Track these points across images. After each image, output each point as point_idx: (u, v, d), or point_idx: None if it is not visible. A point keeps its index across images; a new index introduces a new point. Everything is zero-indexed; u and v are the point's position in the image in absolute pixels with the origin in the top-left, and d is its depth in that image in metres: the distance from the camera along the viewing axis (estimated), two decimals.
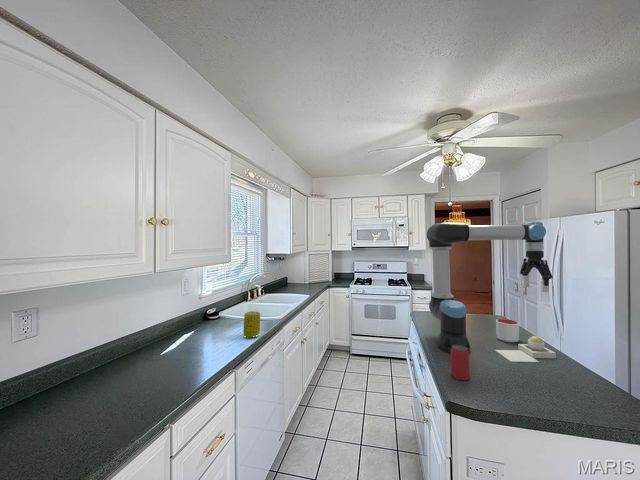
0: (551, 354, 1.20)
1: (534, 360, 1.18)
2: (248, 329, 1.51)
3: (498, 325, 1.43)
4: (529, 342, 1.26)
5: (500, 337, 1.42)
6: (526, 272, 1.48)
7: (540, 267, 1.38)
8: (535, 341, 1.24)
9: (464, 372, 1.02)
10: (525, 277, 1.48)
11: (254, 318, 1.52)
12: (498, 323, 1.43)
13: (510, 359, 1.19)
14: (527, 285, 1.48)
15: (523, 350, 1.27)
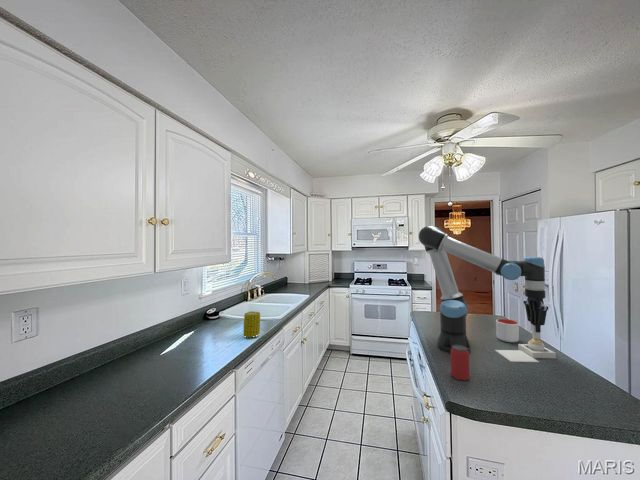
0: (551, 354, 1.20)
1: (534, 360, 1.18)
2: (248, 329, 1.51)
3: (498, 325, 1.43)
4: (529, 345, 1.26)
5: (500, 337, 1.42)
6: (533, 318, 1.26)
7: (538, 311, 1.24)
8: (535, 343, 1.24)
9: (464, 372, 1.02)
10: None
11: (254, 318, 1.52)
12: (498, 323, 1.43)
13: (510, 359, 1.19)
14: None
15: (523, 350, 1.27)
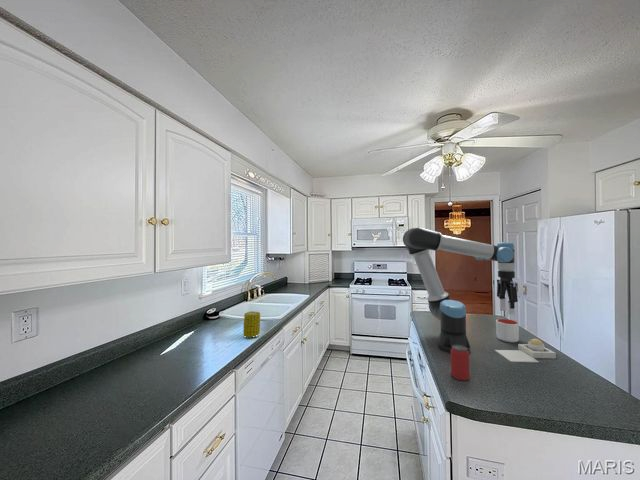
0: (551, 354, 1.20)
1: (534, 360, 1.18)
2: (248, 329, 1.51)
3: (498, 325, 1.43)
4: (529, 345, 1.26)
5: (500, 337, 1.42)
6: (502, 294, 1.46)
7: (509, 289, 1.40)
8: (535, 344, 1.24)
9: (464, 372, 1.02)
10: (501, 300, 1.46)
11: (254, 318, 1.52)
12: (498, 323, 1.43)
13: (510, 359, 1.19)
14: (504, 309, 1.46)
15: (523, 350, 1.27)
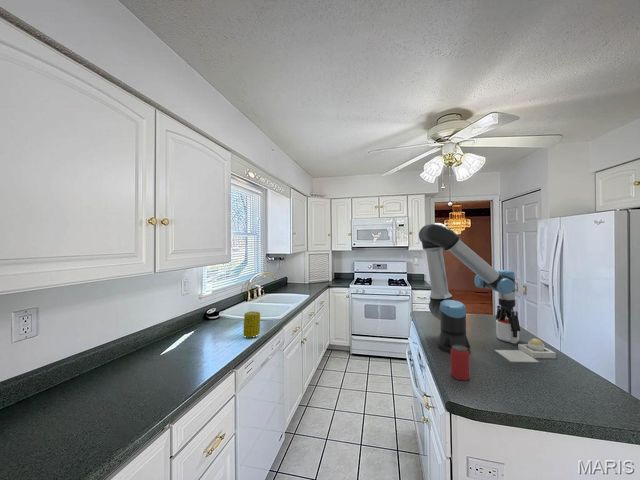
0: (551, 354, 1.20)
1: (534, 360, 1.18)
2: (248, 329, 1.51)
3: (498, 325, 1.43)
4: (529, 345, 1.26)
5: (500, 337, 1.42)
6: (501, 320, 1.48)
7: (511, 317, 1.39)
8: (535, 344, 1.24)
9: (464, 372, 1.02)
10: None
11: (254, 318, 1.52)
12: (498, 323, 1.43)
13: (510, 359, 1.19)
14: None
15: (523, 350, 1.27)
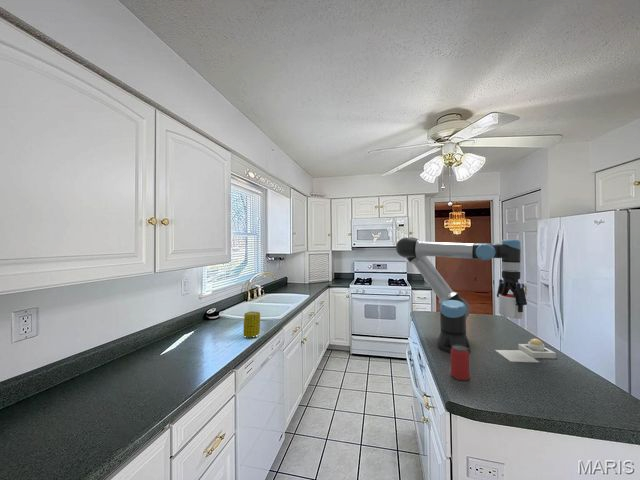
0: (551, 354, 1.20)
1: (534, 360, 1.18)
2: (248, 329, 1.51)
3: (501, 300, 1.29)
4: (529, 345, 1.26)
5: (503, 313, 1.28)
6: (503, 295, 1.34)
7: (516, 290, 1.26)
8: (535, 344, 1.24)
9: (464, 372, 1.02)
10: None
11: (254, 318, 1.52)
12: (501, 297, 1.29)
13: (510, 359, 1.19)
14: None
15: (523, 350, 1.27)
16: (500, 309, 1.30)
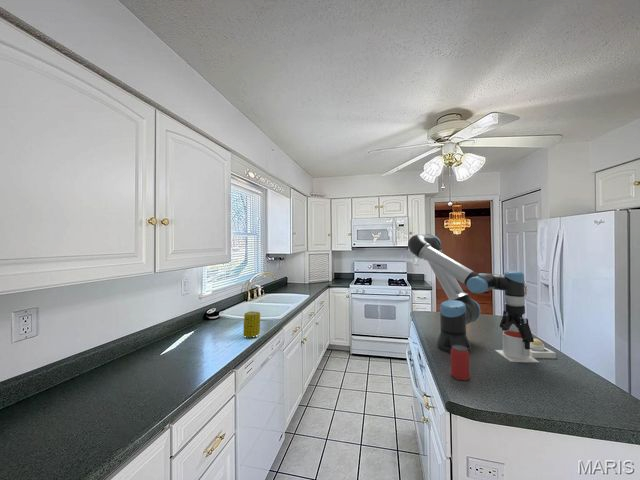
0: (551, 354, 1.20)
1: (534, 360, 1.18)
2: (248, 329, 1.51)
3: (505, 338, 1.23)
4: None
5: (507, 353, 1.21)
6: (506, 327, 1.29)
7: (520, 326, 1.19)
8: (535, 344, 1.24)
9: (464, 372, 1.02)
10: None
11: (254, 318, 1.52)
12: (505, 336, 1.23)
13: (510, 359, 1.19)
14: None
15: None
16: (504, 348, 1.24)
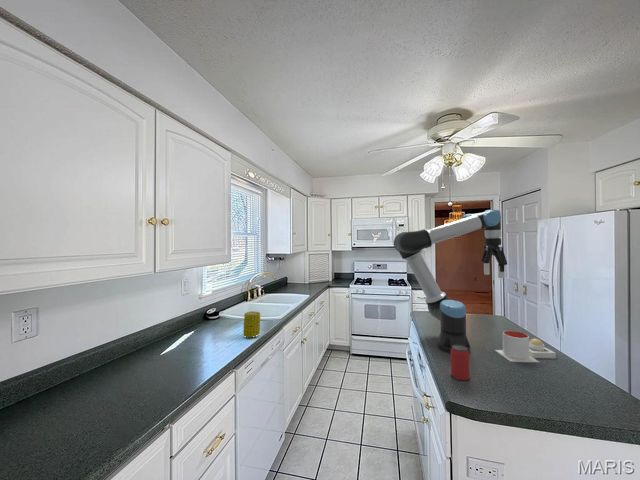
0: (551, 354, 1.20)
1: (534, 360, 1.18)
2: (248, 329, 1.51)
3: (505, 338, 1.23)
4: (529, 345, 1.26)
5: (507, 353, 1.21)
6: (486, 260, 1.50)
7: (497, 254, 1.41)
8: (535, 344, 1.24)
9: (464, 372, 1.02)
10: (485, 265, 1.51)
11: (254, 318, 1.52)
12: (505, 336, 1.23)
13: (510, 359, 1.19)
14: (487, 272, 1.51)
15: None
16: (504, 348, 1.24)
